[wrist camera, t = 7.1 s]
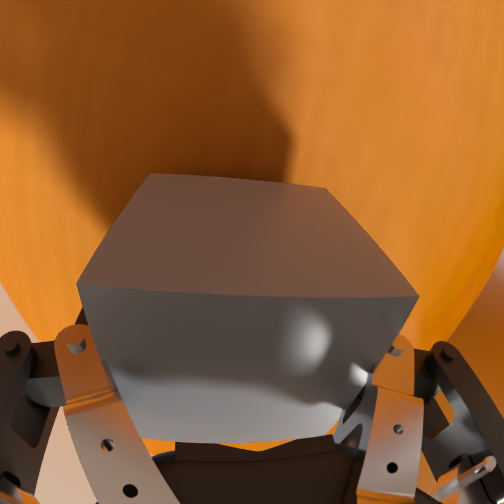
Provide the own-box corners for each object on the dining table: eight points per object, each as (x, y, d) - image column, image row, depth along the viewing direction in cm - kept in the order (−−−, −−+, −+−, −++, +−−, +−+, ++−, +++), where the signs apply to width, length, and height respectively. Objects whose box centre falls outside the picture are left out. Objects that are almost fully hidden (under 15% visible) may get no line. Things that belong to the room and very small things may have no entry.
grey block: (150, 173, 10) (76, 283, 4) (325, 188, 11) (419, 296, 5) (156, 310, 13) (135, 437, 8) (291, 316, 14) (325, 434, 9)
